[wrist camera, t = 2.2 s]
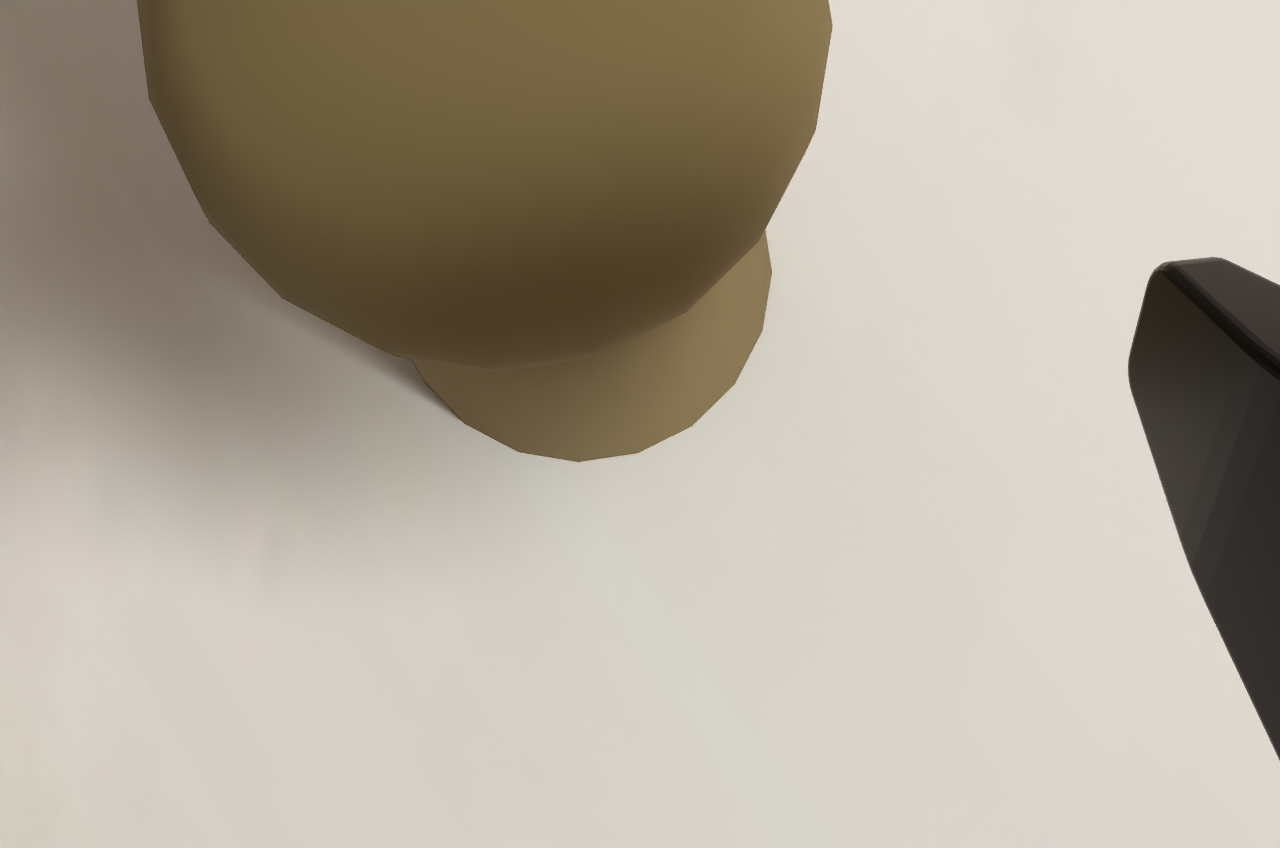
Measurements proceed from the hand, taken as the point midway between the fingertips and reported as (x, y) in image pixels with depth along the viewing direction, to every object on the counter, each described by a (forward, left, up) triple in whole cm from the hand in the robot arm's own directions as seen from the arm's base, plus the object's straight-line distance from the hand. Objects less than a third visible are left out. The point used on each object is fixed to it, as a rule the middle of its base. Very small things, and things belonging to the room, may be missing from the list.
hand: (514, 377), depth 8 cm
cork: (+3, +1, -10) cm, 11 cm away
